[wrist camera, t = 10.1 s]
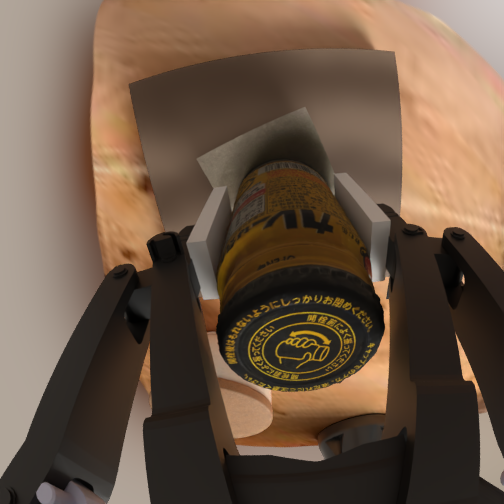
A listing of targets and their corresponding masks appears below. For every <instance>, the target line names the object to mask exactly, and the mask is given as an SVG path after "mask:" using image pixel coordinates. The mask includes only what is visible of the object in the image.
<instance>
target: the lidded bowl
mask: <svg viewBox="0 0 504 504" xmlns="http://www.w3.org/2000/svg"><path fill="white" fill-rule="evenodd" d="M207 335H208V340H209V344H210V348H211V353H212V357H213V361H214V366H215V370H216V374H217V378H218V382H219V386H220V390H221V394H222V398H223V401H224V405H225V409H226V413H227V416H228V420H229V423H230V427H231V431H232V434H233V438H243V437H248V436H252V435H255V434H258V433H260V432H262V431H263V430H265V429H266V428H267V427H268V426H269V425H270V424H271V422H272V419H273V409H272V405H271V401H272V399H271V390H270V389H266V388H263V387H260V386H257V385H255V384H253V383H250V382H248V381H246V380H243V379H242V378H241V377H240V376H238V375H237V374H236V373H235V372H234V371H232V370H231V369H230V367H229V366H228V365H227V364H226V363H225V361H224V359H223V358H222V356H221V354H220V352H219V345H218V344H217V343H218V340H217V334H216V331H211V332H207ZM149 404H150V407H151V409H152V399H151V392H150V395H149Z"/></svg>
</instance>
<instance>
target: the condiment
mask: <svg viewBox="0 0 504 504" xmlns="http://www.w3.org/2000/svg"><path fill="white" fill-rule="evenodd" d="M197 161H198V163H199V164H200V166H201V168H202V170H203V171H204V173H205V175H206V176H207V178H208V180H209V181H210V183H211V185H212V187H213V188H216V187H222V186H227V189H228V194H229V199H230V204H231V210H232V217H231V219H230V223H229V226H228V228H227V233H226V237H225V242H224V244H223V248H222V251H221V258H220V262H219V264H218V267H217V273H216V276H217V291H218V295H219V298H220V314H219V315H218V324H217V326H216V327H217V329H216V334H217V340H218V343H217V344H218V345H219V352H220V354H221V356H222V358H223V359H224V361H225V363H226V364H227V365H228V366H229V367H230V369H231V370H232V371H234V372H235V373H236V374H237V375H238V376H240V377H241V378H242V379H243V380H246V381H248V382H250V383H253V384H255V385H257V386H260V387H263V388H266V389H270V390H276V391H282V392H287V391H288V392H296V391H311V390H317V389H320V388H324V387H328V386H330V385H332V384H335V383H341V382H342V381H343V380H344V379H345V378H348V377H350V376H351V375H352V374H355V373H356V372H358V371H359V370H360V369H361V368H362V367H363V366H364V365H365V364H366V363H367V362H368V361H369V360H370V359H371V358H372V357H373V356H374V354H375V353H376V352H377V349H378V347H379V345H380V342H381V339H382V336H383V334H384V330H385V324H384V315H383V314H384V311H383V308H382V305H381V304H380V298H379V296H378V295H377V294H375V290H374V286H373V283H372V267H371V261H370V258H369V256H368V253H367V249H366V247H365V245H364V243H363V241H362V240H361V239H360V237H359V235H358V233H357V231H356V230H355V228H354V227H353V225H352V224H351V221H350V220H349V219H348V217H347V216H346V214H345V212H344V210H343V209H342V207H341V206H340V204H339V203H338V201H337V199H336V198H335V189H334V174H335V173H334V171H333V168H332V166H331V163H330V161H329V158H328V156H327V154H326V151H325V149H324V147H323V144H322V142H321V140H320V138H319V135H318V133H317V131H316V129H315V126H314V124H313V122H312V120H311V118H310V116H309V113H308V111H307V109H306V107H303V108H301V109H298V110H296V111H294V112H291V113H289V114H286V115H284V116H282V117H279V118H277V119H275V120H273V121H271V122H268V123H266V124H264V125H262V126H260V127H257V128H255V129H253V130H251V131H249V132H247V133H245V134H243V135H240V136H238V137H237V138H235V139H233V140H231V141H229V142H227V143H225V144H223V145H221V146H219V147H217V148H215V149H214V150H212V151H210V152H208V153H206V154H204V155H202V156H201V157H199V158H197Z"/></svg>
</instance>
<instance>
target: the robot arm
mask: <svg viewBox="0 0 504 504" xmlns="http://www.w3.org/2000/svg"><path fill="white" fill-rule="evenodd" d="M334 189H335V198H336V199H337V201H338V203H339V204H340V206H341V207H342V209H343V210H344V212H345V214H346V216H347V217H348V219H349V220H350V221H351V224H352V225H353V227H354V228H355V230H356V231H357V233H358V235H359V237H360V239H361V240H362V241H363V243H364V245H365V247H366V249H367V253H368V256H369V258H370V261H371V267H372V282H376V281H383V280H385V273H386V269H387V271H388V272H389V274H390V278H389V285H388V291H387V297H386V299H389V307H390V357H389V379H388V393H387V405H386V415H382V414H372V415H364V416H359V417H354V418H351V419H347V420H344V421H341V422H338V423H336V424H333V425H331V426H329V427H327V428H326V429H324V430H323V431H321V432H320V433H319V435H318V445H319V449H320V451H321V453H322V455H323V457H324V459H325V460H322V461H318V462H313V461H305V460H298V459H291V458H284V457H278V456H273V455H252V456H250V455H248V456H247V455H244V456H241V455H240V454H239V452H238V450H237V447H236V444H235V441H234V438H233V434H232V431H231V427H230V423H229V420H228V416H227V413H226V409H225V405H224V401H223V398H222V394H221V390H220V386H219V382H218V378H217V374H216V370H215V366H214V361H213V357H212V353H211V348H210V344H209V340H208V335H207V331H206V326H205V321H204V317H203V312H202V307H201V303H200V300H199V297H198V296H199V292H200V290H201V293H202V296H203V300H209V299H220V298H219V295H218V291H217V276H216V273H217V267H218V264H219V262H220V258H221V251H222V248H223V244H224V242H225V237H226V233H227V228H228V226H229V223H230V219H231V217H232V210H231V204H230V199H229V194H228V189H227V186H222V187H216V188H214V189H213V191H212V193H211V195H210V196H209V198H208V200H207V202H206V204H205V206H204V208H203V210H202V212H201V214H200V216H199V218H198V220H197V222H196V224H195V225H190V226H186V227H185V228H183V229H182V230H181V231H180V232H179V234H178V233H177V232H174V231H169V232H163V233H160V234H158V235H156V236H154V237H152V238H151V239H150V240H148V242H147V247H148V250H149V253H150V256H151V258H152V261H153V267H152V268H150V269H147V270H143V271H140V272H137V271H136V269H135V267H134V265H132V264H123V265H119V266H118V267H117V266H116V267H115V268H114V269H112V270H111V271H110V272H109V273H108V274H107V275H106V277H105V279H104V280H103V282H102V283H101V285H100V287H99V288H98V290H97V292H96V293H95V295H94V297H93V298H92V300H91V302H90V303H89V305H88V307H87V309H86V310H85V312H84V314H83V316H82V317H81V319H80V321H79V323H78V325H77V326H76V328H75V330H74V332H73V334H72V336H71V338H70V340H69V342H68V343H67V345H66V347H65V349H64V351H63V353H62V355H61V357H60V359H59V361H58V363H57V365H56V368H55V370H54V372H53V374H52V376H51V378H50V381H49V383H48V385H47V387H46V389H45V392H44V394H43V396H42V399H41V401H40V404H39V406H38V408H37V411H36V413H35V416H34V418H33V421H32V424H31V426H30V429H29V432H28V435H27V437H26V440H25V442H24V443H23V445H22V446H21V448H20V449H19V451H18V452H17V454H16V455H15V457H14V458H13V460H12V461H11V463H10V465H9V466H8V468H7V469H6V471H5V472H4V474H3V476H2V477H1V479H0V504H107V502H108V501H109V499H110V496H111V493H112V490H113V488H114V485H115V481H116V476H117V472H118V467H119V462H120V457H121V451H122V447H123V442H124V438H125V433H126V429H127V425H128V420H129V416H130V411H131V408H132V403H133V400H134V396H135V392H136V388H137V385H138V381H139V377H140V373H141V370H142V366H143V363H144V359H145V356H146V352H147V349H148V345H149V342H150V375H151V399H152V415H151V417H149V418H146V419H145V420H144V423H143V439H144V452H145V462H146V471H147V480H148V488H149V494H150V502H151V504H504V492H503V491H502V490H500V489H499V488H497V487H495V486H493V485H492V484H490V483H489V482H487V481H486V480H484V479H483V478H481V477H480V476H479V472H480V471H479V470H480V430H479V413H478V402H477V393H476V389H475V385H474V383H473V382H472V381H465V380H464V379H463V376H462V370H461V363H460V356H459V350H458V345H457V339H456V335H457V337H458V339H459V341H460V343H461V345H462V347H463V350H464V352H465V354H466V356H467V359H468V361H469V363H470V366H471V368H472V371H473V373H474V375H475V378H476V381H477V383H478V386H479V388H480V391H481V394H482V397H483V399H484V402H485V405H486V408H487V411H488V414H489V417H490V420H491V424H492V427H493V431H494V434H495V437H496V440H497V443H498V446H499V448H500V450H501V453H502V455H503V458H504V271H503V270H502V269H501V268H500V266H499V265H498V264H497V263H496V262H495V261H494V260H493V258H492V257H491V256H490V255H489V254H488V253H487V252H486V251H485V249H484V248H483V247H482V246H481V245H480V244H479V243H478V242H477V241H476V240H475V239H474V238H473V237H472V236H471V235H470V234H469V233H468V232H467V231H465V230H463V229H461V228H458V227H454V228H453V227H450V228H446V229H445V230H444V233H443V238H434V237H428V236H427V233H426V231H425V230H424V229H423V228H421V227H420V226H417V225H413V224H407V223H406V222H405V221H404V220H403V219H402V218H401V217H400V216H399V215H398V214H397V213H395V211H394V210H393V209H392V208H391V207H390V206H388V205H386V204H384V203H382V204H376V203H375V202H374V201H373V200H372V199H371V198H370V197H369V196H368V195H367V194H366V193H365V192H364V190H363V189H362V188H361V187H360V186H359V185H358V184H357V183H356V182H355V181H354V180H353V179H352V178H351V177H350V176H349V175H348V174H347V173H337V174H334ZM463 274H464V278H465V284H463V282H462V277H463ZM124 317H125V318H124ZM455 332H456V334H455ZM500 479H501V483H502V485H504V471H503V472H502V474H501V478H500Z"/></svg>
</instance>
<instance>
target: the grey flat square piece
mask: <svg viewBox="0 0 504 504" xmlns="http://www.w3.org/2000/svg"><path fill="white" fill-rule="evenodd" d="M129 88H130V94H131V99H132V104H133V109H134V113H135V118H136V123H137V127H138V132H139V136H140V140H141V145H142V149H143V153H144V157H145V161H146V165H147V169H148V173H149V177H150V180H151V184H152V188H153V191H154V195H155V199H156V202H157V206H158V209H159V213H160V216H161V219H162V223H163V226H164V229H165V232H169V231H174V232H177V233H178V234H179V232H180V231H181V230H182V229H183V228H185V227H186V226H190V225H195V224H196V222H197V220H198V218H199V216H200V214H201V212H202V210H203V208H204V206H205V204H206V202H207V200H208V198H209V196H210V195H211V193H212V191H213V189H214V188H213V187H212V185H211V183H210V181H209V180H208V178H207V176H206V175H205V173H204V171H203V170H202V168H201V166H200V164H199V163H198V161H197V158H199V157H201V156H202V155H204V154H206V153H208V152H210V151H212V150H214V149H215V148H217V147H219V146H221V145H223V144H225V143H227V142H229V141H231V140H233V139H235V138H237V137H238V136H240V135H243V134H245V133H247V132H249V131H251V130H253V129H255V128H257V127H260V126H262V125H264V124H266V123H268V122H271V121H273V120H275V119H277V118H279V117H282V116H284V115H286V114H289V113H291V112H294V111H296V110H298V109H301V108H303V107H306V109H307V111H308V113H309V116H310V118H311V120H312V122H313V124H314V126H315V129H316V131H317V133H318V135H319V138H320V140H321V142H322V144H323V147H324V149H325V151H326V154H327V156H328V158H329V161H330V163H331V166H332V168H333V171H334V173H335V174H337V173H347V174H348V175H349V176H350V177H351V178H352V179H353V180H354V181H355V182H356V183H357V184H358V185H359V186H360V187H361V188H362V189H363V190H364V192H365V193H366V194H367V195H368V196H369V197H370V198H371V199H372V200H373V201H374V202H375V203H376V204H382V203H384V204H386V205H388V206H390V207H391V208H392V209H393V210H394V211H395V213H397V214H398V215H399V216H400V207H401V188H402V124H401V106H400V93H399V83H398V74H397V66H396V59H395V52H391V51H381V50H367V49H338V48H329V49H299V50H284V51H274V52H264V53H256V54H249V55H242V56H236V57H230V58H224V59H219V60H214V61H209V62H204V63H200V64H196V65H191V66H187V67H183V68H179V69H176V70H172V71H168V72H165V73H162V74H158V75H155V76H152V77H149V78H145V79H142V80H139V81H137V82H134V83H131V84H129ZM389 276H390V274H389V272H388V271H387V269H386V273H385V277H389ZM198 297H203V296H202V293H201V290H200V292H199V296H198Z"/></svg>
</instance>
